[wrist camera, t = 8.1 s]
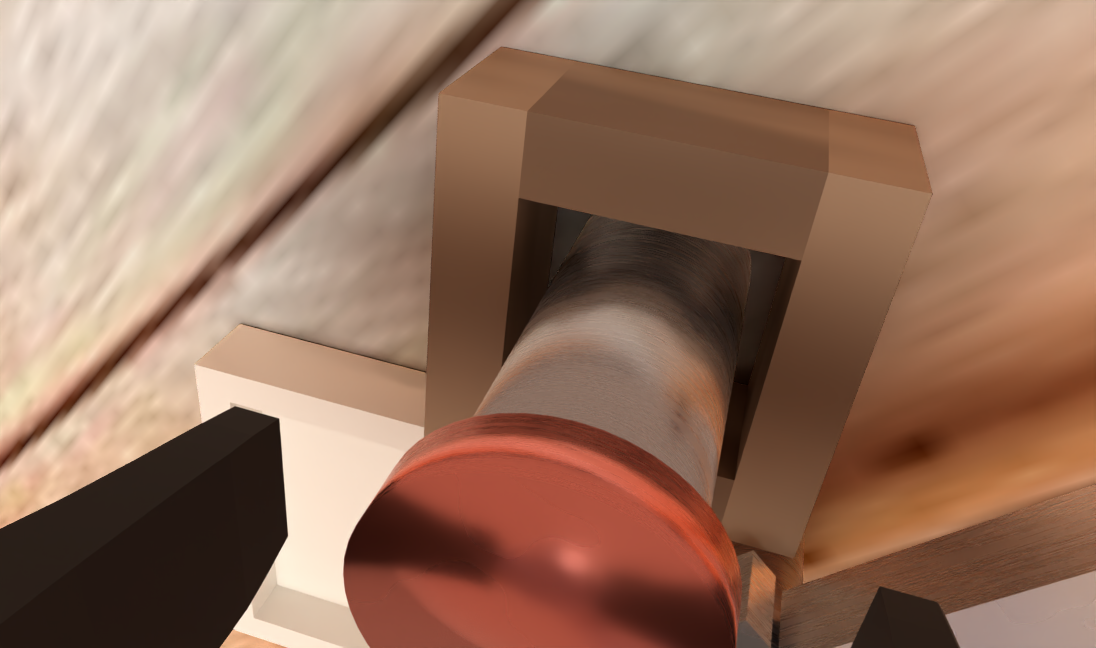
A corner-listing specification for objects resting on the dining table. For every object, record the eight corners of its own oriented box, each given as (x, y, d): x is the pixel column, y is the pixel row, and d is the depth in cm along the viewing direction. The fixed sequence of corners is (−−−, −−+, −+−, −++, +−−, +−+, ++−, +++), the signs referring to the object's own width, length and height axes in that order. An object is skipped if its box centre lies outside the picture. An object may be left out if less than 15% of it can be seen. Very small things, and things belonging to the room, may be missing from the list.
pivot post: (805, 572, 20) (796, 867, 14) (692, 541, 20) (642, 814, 15) (839, 489, 18) (842, 779, 13) (717, 456, 19) (670, 724, 13)
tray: (558, 673, 24) (541, 731, 22) (264, 580, 25) (229, 628, 24) (606, 420, 19) (587, 472, 18) (239, 323, 21) (193, 364, 19)
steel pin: (747, 384, 18) (686, 807, 10) (541, 333, 18) (345, 692, 11) (806, 186, 15) (782, 547, 8) (566, 136, 16) (339, 423, 9)
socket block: (799, 455, 18) (793, 558, 16) (475, 371, 19) (422, 454, 17) (915, 126, 14) (932, 193, 12) (501, 46, 16) (438, 93, 13)
